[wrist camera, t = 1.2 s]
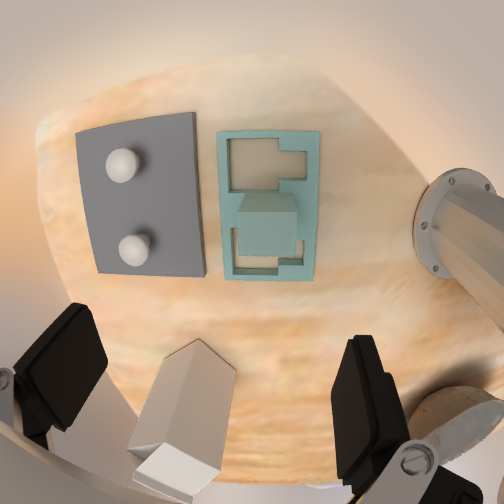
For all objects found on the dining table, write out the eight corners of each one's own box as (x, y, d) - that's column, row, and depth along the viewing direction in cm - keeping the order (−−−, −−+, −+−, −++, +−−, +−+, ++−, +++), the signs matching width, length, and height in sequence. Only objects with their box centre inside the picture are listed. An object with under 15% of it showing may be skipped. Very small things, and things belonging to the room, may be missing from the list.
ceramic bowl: (492, 336, 31) (520, 377, 22) (477, 404, 39) (493, 437, 30) (372, 396, 37) (385, 449, 27) (387, 446, 44) (395, 484, 35)
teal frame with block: (317, 131, 23) (333, 132, 16) (311, 274, 29) (320, 318, 22) (219, 132, 24) (198, 133, 17) (227, 273, 29) (213, 316, 23)
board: (194, 112, 23) (182, 110, 20) (206, 272, 30) (197, 292, 26) (80, 132, 24) (58, 135, 21) (102, 269, 31) (86, 284, 27)
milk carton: (198, 337, 33) (153, 478, 16) (237, 370, 35) (215, 504, 18) (163, 358, 36) (114, 478, 18) (200, 387, 38) (170, 504, 20)
